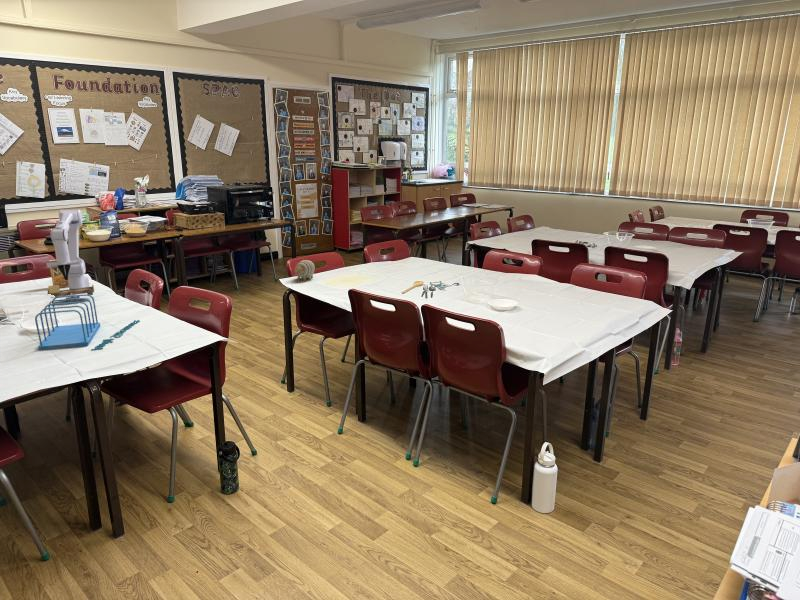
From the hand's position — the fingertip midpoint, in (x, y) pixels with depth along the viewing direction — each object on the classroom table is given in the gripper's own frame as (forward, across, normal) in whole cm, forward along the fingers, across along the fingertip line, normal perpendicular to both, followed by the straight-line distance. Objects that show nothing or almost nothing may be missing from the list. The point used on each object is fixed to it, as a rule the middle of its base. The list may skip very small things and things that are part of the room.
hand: (66, 279), depth 283 cm
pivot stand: (+10, +2, -4) cm, 11 cm away
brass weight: (+5, -6, -4) cm, 9 cm away
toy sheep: (+11, +122, -14) cm, 123 cm away
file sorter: (+11, +1, -65) cm, 66 cm away
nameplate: (+11, +18, -70) cm, 73 cm away
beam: (+8, +1, -4) cm, 9 cm away
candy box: (+10, -4, +31) cm, 33 cm away
